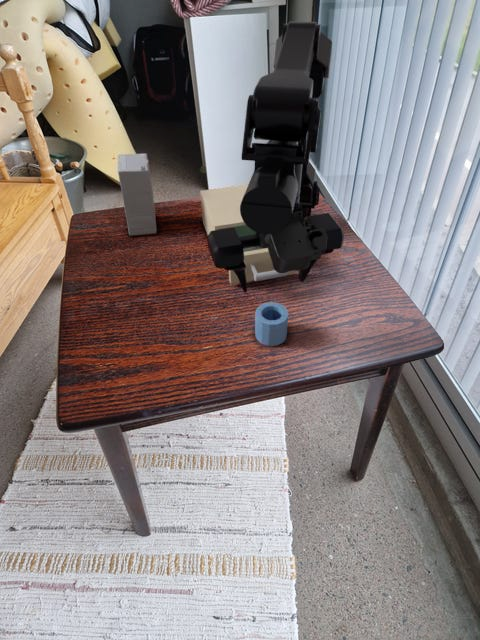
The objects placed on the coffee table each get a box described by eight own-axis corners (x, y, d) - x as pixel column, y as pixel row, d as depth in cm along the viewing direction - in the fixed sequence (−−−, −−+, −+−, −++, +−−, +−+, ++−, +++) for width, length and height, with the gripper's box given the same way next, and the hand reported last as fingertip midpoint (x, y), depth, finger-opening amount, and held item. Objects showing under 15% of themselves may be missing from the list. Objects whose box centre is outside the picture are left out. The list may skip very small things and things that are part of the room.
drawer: (304, 287, 81) (307, 260, 76) (236, 299, 78) (235, 273, 74) (273, 234, 94) (274, 209, 90) (214, 244, 92) (213, 218, 87)
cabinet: (282, 248, 92) (284, 215, 86) (216, 259, 89) (214, 226, 84) (261, 213, 103) (262, 182, 97) (202, 222, 100) (199, 190, 94)
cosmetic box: (128, 218, 102) (114, 154, 91) (158, 215, 103) (147, 150, 92) (128, 237, 96) (113, 170, 85) (160, 234, 97) (148, 167, 86)
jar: (280, 321, 75) (282, 299, 72) (290, 342, 72) (293, 321, 68) (251, 326, 74) (251, 305, 71) (260, 349, 71) (261, 327, 67)
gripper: (221, 236, 47) (226, 333, 58) (372, 212, 51) (351, 308, 61) (202, 191, 55) (210, 284, 66) (334, 173, 58) (321, 264, 69)
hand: (273, 285), depth 65 cm, fingers open, 9 cm apart
